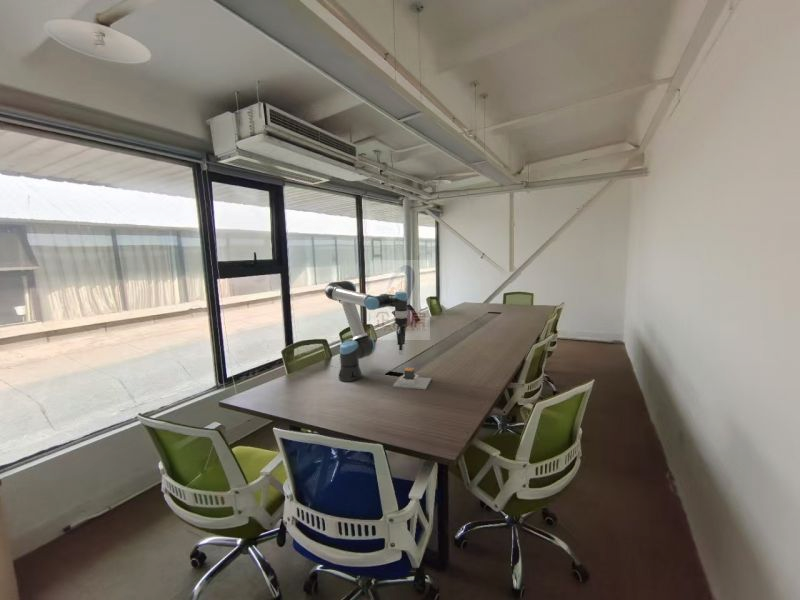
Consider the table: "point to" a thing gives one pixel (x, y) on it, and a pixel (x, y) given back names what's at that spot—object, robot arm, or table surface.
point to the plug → (409, 373)
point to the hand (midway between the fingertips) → (401, 354)
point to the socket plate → (412, 382)
